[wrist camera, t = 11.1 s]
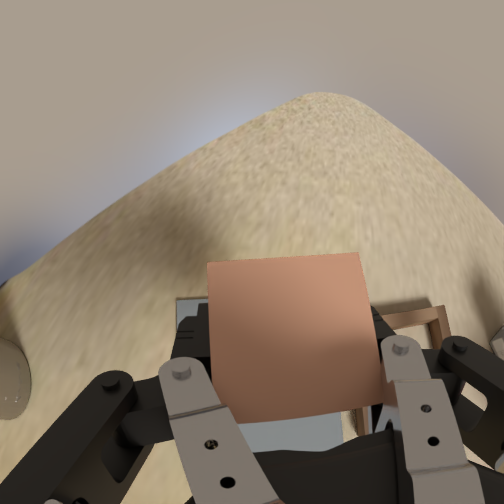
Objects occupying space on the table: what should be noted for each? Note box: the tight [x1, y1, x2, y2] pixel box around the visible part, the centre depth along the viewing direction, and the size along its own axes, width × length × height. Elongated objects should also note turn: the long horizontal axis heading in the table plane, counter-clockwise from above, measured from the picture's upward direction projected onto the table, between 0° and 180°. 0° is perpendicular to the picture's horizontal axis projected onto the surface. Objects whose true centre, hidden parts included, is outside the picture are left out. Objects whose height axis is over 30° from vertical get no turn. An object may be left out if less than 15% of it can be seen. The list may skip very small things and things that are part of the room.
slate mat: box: [177, 299, 343, 452], centre depth 26 cm, size 14×16×1 cm
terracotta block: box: [207, 252, 384, 424], centre depth 12 cm, size 4×4×8 cm
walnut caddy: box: [355, 305, 451, 436], centre depth 26 cm, size 11×11×2 cm
